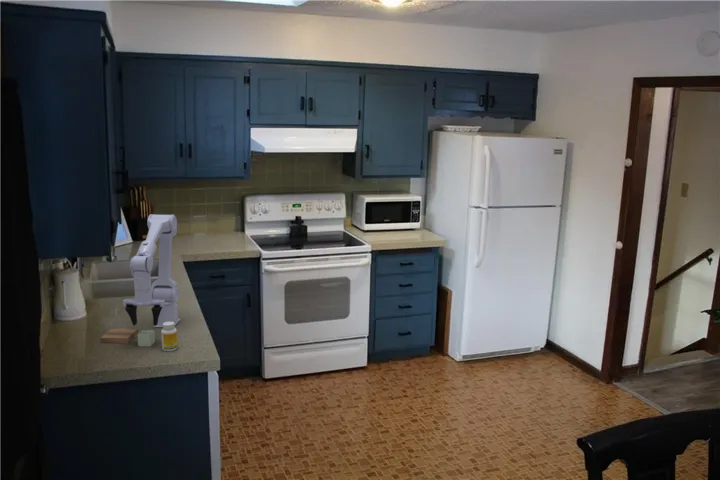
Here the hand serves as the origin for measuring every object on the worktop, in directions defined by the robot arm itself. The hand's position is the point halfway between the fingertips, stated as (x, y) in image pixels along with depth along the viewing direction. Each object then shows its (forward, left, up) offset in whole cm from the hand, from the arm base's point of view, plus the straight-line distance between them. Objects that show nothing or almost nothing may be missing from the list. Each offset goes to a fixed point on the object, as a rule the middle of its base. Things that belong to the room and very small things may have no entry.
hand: (145, 324), depth 226 cm
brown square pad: (-5, -12, -8) cm, 15 cm away
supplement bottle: (+4, +10, -8) cm, 13 cm away
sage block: (0, 0, -8) cm, 8 cm away
